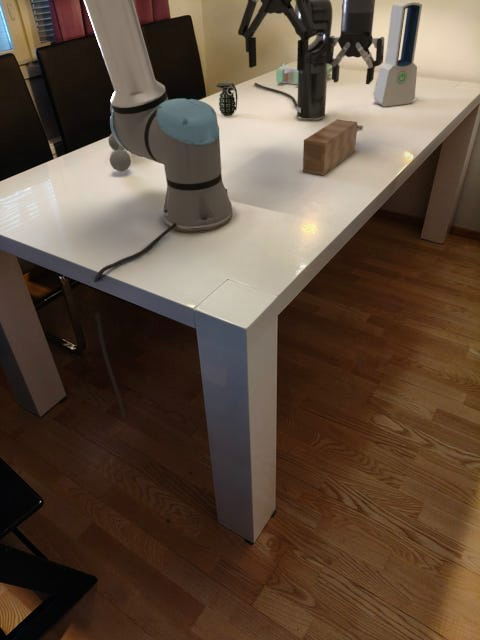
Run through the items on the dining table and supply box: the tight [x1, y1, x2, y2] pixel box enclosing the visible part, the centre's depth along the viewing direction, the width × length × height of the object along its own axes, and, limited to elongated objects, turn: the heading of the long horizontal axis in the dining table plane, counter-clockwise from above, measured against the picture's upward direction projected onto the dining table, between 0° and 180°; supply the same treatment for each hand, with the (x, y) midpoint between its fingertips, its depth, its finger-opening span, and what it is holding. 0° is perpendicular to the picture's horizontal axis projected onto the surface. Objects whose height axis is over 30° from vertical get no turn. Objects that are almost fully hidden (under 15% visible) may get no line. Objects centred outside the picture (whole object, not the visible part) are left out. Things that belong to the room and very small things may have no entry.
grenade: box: [215, 82, 238, 117], centre depth 166 cm, size 7×6×10 cm
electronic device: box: [373, 0, 423, 108], centre depth 163 cm, size 12×8×30 cm, turn 105°
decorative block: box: [275, 60, 332, 85], centre depth 205 cm, size 26×6×20 cm
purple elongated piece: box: [355, 124, 364, 144], centre depth 131 cm, size 24×5×6 cm, turn 146°
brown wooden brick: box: [302, 118, 358, 176], centre depth 128 cm, size 19×6×8 cm, turn 146°
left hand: (276, 68), depth 124 cm, fingers open, 13 cm apart
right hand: (351, 82), depth 126 cm, fingers open, 8 cm apart
